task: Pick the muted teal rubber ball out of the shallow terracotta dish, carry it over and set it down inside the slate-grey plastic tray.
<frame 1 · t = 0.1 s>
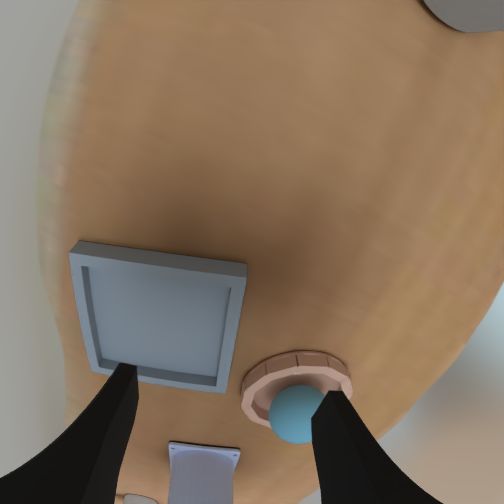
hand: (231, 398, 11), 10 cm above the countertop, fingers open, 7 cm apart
dish: (295, 387, 26), on the countertop
tray: (157, 319, 22), on the countertop
ball: (296, 390, 26), resting on dish
mug: (132, 496, 43), on the countertop
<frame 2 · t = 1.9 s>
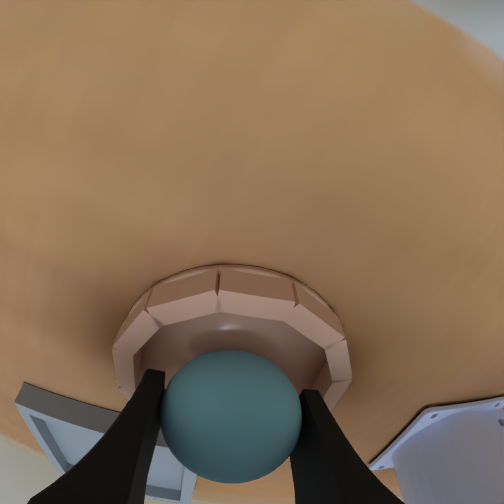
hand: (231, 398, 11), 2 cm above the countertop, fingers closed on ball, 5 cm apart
dish: (231, 360, 13), on the countertop
tray: (116, 449, 18), on the countertop
ball: (231, 367, 13), resting on dish, touching gripper
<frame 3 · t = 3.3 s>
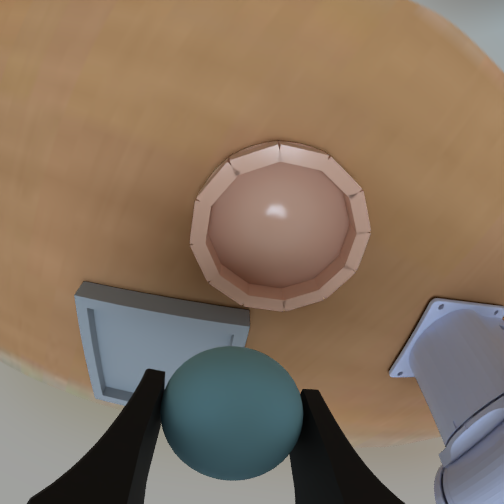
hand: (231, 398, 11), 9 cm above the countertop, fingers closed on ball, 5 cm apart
dish: (279, 225, 18), on the countertop
tray: (160, 355, 22), on the countertop
ball: (231, 363, 13), point 7 cm above the countertop, touching gripper
when the fingers open (4 cm above the countertop, at t = 5.0 s): ball drops 1 cm, resting on tray.
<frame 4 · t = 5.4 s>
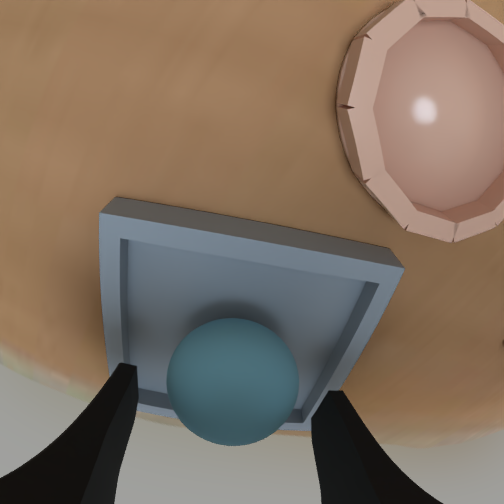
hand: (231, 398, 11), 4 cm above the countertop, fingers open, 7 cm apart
dish: (446, 115, 10), on the countertop
tray: (232, 333, 15), on the countertop
ball: (233, 338, 14), point 1 cm above the countertop, touching tray
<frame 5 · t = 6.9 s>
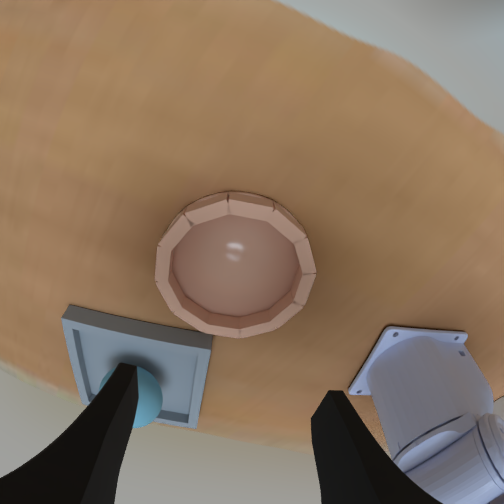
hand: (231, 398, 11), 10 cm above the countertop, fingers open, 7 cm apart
dish: (235, 263, 20), on the countertop
tray: (138, 369, 24), on the countertop
ball: (136, 372, 24), point 1 cm above the countertop, touching tray
mug: (487, 414, 34), on the countertop
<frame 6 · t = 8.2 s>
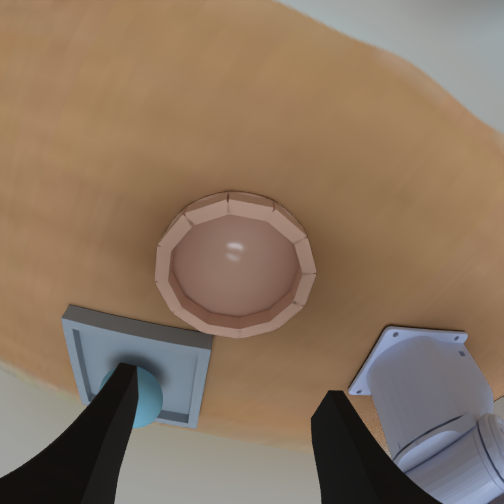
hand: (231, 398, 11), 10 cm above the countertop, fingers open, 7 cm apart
dish: (235, 263, 20), on the countertop
tray: (138, 369, 24), on the countertop
ball: (136, 372, 24), point 1 cm above the countertop, touching tray
mug: (487, 414, 34), on the countertop
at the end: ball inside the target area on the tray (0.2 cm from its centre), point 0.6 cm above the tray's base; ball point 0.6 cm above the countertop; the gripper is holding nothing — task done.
